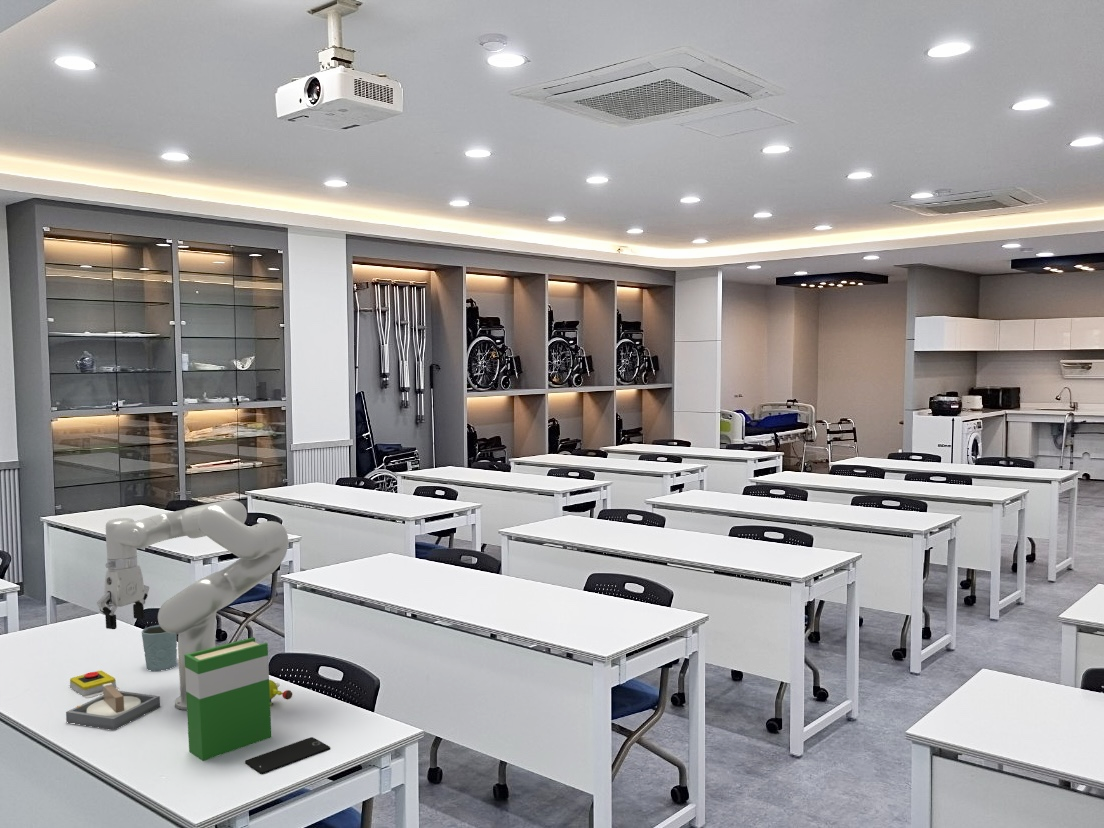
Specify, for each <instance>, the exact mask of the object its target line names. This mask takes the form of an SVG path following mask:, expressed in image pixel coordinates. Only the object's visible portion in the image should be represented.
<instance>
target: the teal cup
mask: <svg viewBox="0 0 1104 828" xmlns="http://www.w3.org/2000/svg"><path fill="white" fill-rule="evenodd" d="M177 635H178V634H172V633H168V632H166V631H164V630H163V629H162V628H161V627H160V625H159V624H156V625H151V626H149V627H145V628H143V629H142V630H141V637H142V644H143V645H142V646H143V652H144V658H145V667H146V670H147V669H148V670H151V671H150V672H162V671H161V670H165V671H167V670H166V669H169V670H171V669H170V668H172V667H174V666H175V667H176V666H177V661H178V660H177V659H178V658H177V655H178V652H177V651H178V636H177ZM175 667H174V668H175ZM172 669H173V668H172ZM148 670H147V671H148Z"/></svg>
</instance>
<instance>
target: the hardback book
mask: <svg viewBox="0 0 1104 828" xmlns="http://www.w3.org/2000/svg"><path fill="white" fill-rule="evenodd" d="M268 648H269V645H268V643H267V642H263V643H258V642H256V637H253V636H252V637H249V638H246V639H243V640H242V639H241V640H238V641H234V642H233V641H232V642H230V643H226V644H221V645H217V646H215V647H213V648H209V649H205V650H201V651H197V652H193V653H190V654H186V655H184V657H185V677H186V697H187V710H186V712H187V713H186V716H187V731H188V732H187V733H188V752H189V753H191V755H193V756H195V757H196V758H197V759H198V760H200V761H202V762H204V761H207V760H211V759H214V758H216V757H219V756H221V755H224V754H228V753H230V752H234V751H235V750H236V751H237V750H239V749H242V748H245V747H248V746H251V745H253V744H257V743H259V742H262V741H265V740H269V739H272V716H271V715H272V714H271V706H270V689H269V680H270V671H269V669H270V668H269V649H268Z"/></svg>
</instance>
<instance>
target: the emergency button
mask: <svg viewBox="0 0 1104 828" xmlns="http://www.w3.org/2000/svg"><path fill="white" fill-rule="evenodd" d="M108 683H112V685H113V686H114V687H115V688H116V689H117V690H118V689H119V690H120V687H118V686H117V683H116V678H115V677H114V676H112V675H110V674H108V673H106V672H105V671H103V670H96V671H92V672H87V673H85V674H82V675H77V676H74V677H70V679H69V685H68V686H70V688H72V689H73V690H72V689H71V690H72V691H74V692H75V691H76V692H75V693H77V694H78V693H79V694H78V695H80V696H81V695H82V696H81V697H83V698H85V699H91V698H95V697H97V696H98V695H99V696H102V695H104V694H103V685H104V684H108ZM70 688H69V689H70ZM119 690H118V691H119Z"/></svg>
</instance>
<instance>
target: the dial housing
mask: <svg viewBox="0 0 1104 828" xmlns="http://www.w3.org/2000/svg"><path fill="white" fill-rule="evenodd" d="M118 691H119V692H120V693H121V694H122V695H123V696H133V697H137V698H139V699H140V701H141V704H139V705H137V706H135V707H133V708H131V709H129V710H127V711H125V712H123V713H121V714H119V715H117V716H115V717H110V716H103V715H96V714H89V713H87V708H88V707H89V706H90V705H92V704H94V703H96V702H98V701H101V700H104V694H102V695H99V697H96V698H94V699H91V700H89V701H87V702H85V703H82V704H80V705H77V706H75V707H73V708H72V709H69V710H67V711H65V716H66V719H65V720H66V723H67V722H68V723H67V724H70V723H75V724H74V725H76V724H80V725H79V726H82V725H86V726H85V727H89V726H92V727H91V728H95V727H99V728H98V729H102V728H104V729H103V730H108V729H109V730H110V731H116V730H118V729H119V727H120V728H121V726H122V727H123V725H124V726H126V725H128V724H130V723H131V722H133V721H135V720H137V719H140V718H142V717H143V716H145V715H147V714H149V713H151V712H153V711H155V710H158V709H159V708H160V707H161V699H160V698H161V696H160V695H152V694H146V693H137V692H131V691H125V690H124V691H123V690H118ZM144 714H145V715H144ZM130 721H131V722H130ZM129 722H130V723H129ZM127 723H128V724H127ZM125 724H126V725H125ZM117 728H118V729H117Z"/></svg>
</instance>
